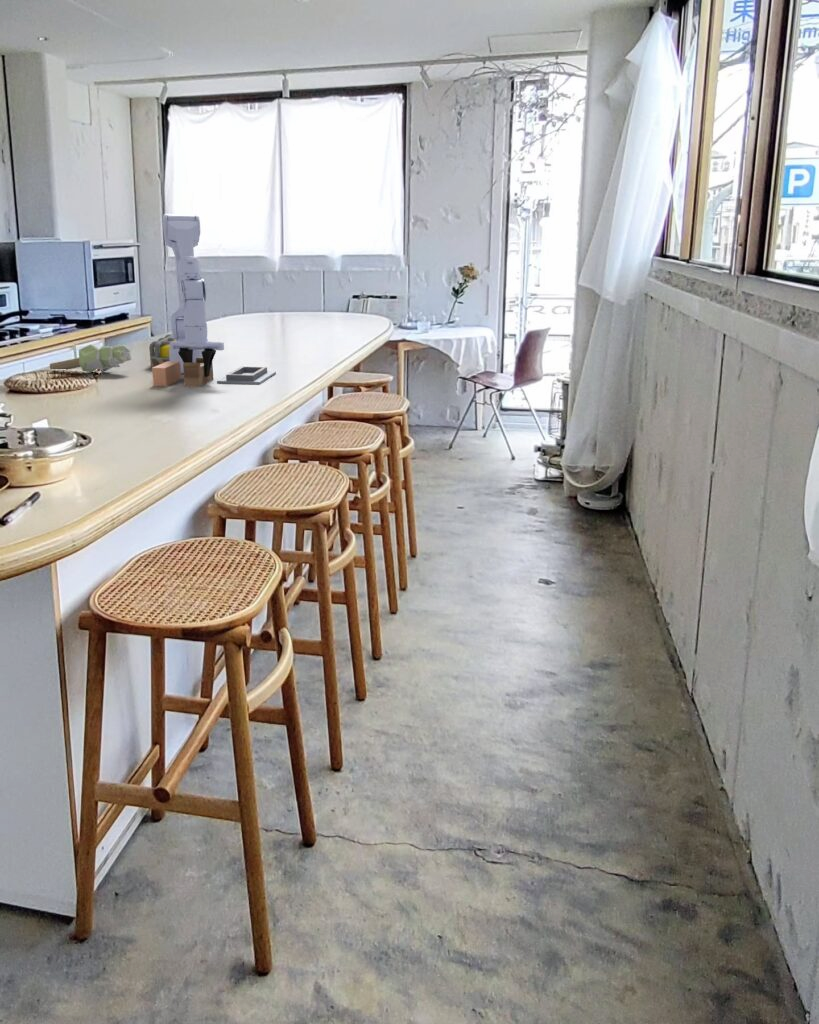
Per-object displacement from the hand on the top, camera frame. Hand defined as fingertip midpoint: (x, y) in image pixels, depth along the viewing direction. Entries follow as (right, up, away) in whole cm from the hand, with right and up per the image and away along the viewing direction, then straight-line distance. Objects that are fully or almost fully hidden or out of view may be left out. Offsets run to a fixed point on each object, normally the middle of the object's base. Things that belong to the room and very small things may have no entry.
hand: (199, 376), depth 230 cm
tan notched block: (0, -2, +1) cm, 2 cm away
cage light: (-14, +10, +35) cm, 39 cm away
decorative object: (-35, +3, +14) cm, 38 cm away
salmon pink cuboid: (-9, -2, +1) cm, 9 cm away
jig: (+12, +1, +8) cm, 14 cm away
